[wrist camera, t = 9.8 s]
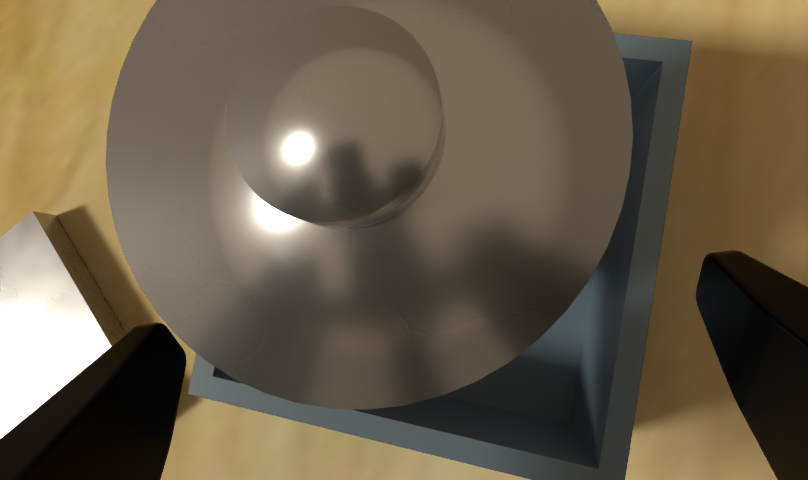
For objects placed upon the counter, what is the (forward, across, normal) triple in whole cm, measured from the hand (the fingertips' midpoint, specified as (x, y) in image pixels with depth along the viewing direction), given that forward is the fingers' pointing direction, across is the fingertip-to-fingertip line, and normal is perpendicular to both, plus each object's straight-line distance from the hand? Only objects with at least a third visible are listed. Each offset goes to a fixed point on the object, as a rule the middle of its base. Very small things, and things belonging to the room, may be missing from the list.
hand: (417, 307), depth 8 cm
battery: (+7, 0, +4) cm, 8 cm away
